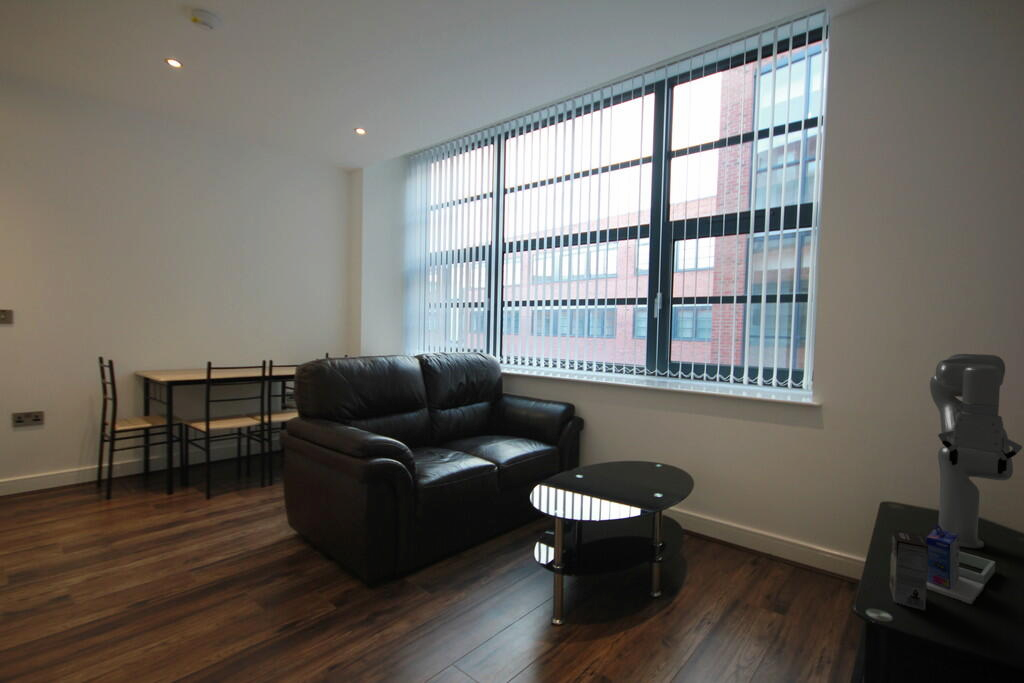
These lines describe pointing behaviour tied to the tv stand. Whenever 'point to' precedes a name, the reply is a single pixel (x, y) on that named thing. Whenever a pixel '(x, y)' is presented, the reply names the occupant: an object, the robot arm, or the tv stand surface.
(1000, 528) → the tv stand surface
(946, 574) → the ink cartridge box
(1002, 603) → the tv stand surface
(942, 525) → the robot arm
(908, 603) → the coffee box
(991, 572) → the frame
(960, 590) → the tile
